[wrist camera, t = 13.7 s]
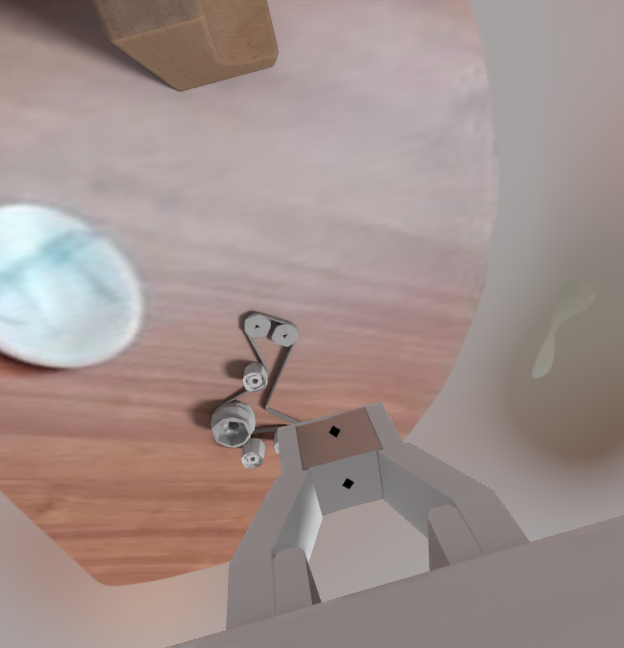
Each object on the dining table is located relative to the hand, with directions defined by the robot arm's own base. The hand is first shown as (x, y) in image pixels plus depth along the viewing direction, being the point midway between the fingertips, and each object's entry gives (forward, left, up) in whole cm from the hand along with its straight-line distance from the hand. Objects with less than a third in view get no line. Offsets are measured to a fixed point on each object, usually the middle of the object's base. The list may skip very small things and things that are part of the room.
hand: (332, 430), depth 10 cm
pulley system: (-6, -24, -32) cm, 40 cm away
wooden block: (-1, +15, -31) cm, 35 cm away
